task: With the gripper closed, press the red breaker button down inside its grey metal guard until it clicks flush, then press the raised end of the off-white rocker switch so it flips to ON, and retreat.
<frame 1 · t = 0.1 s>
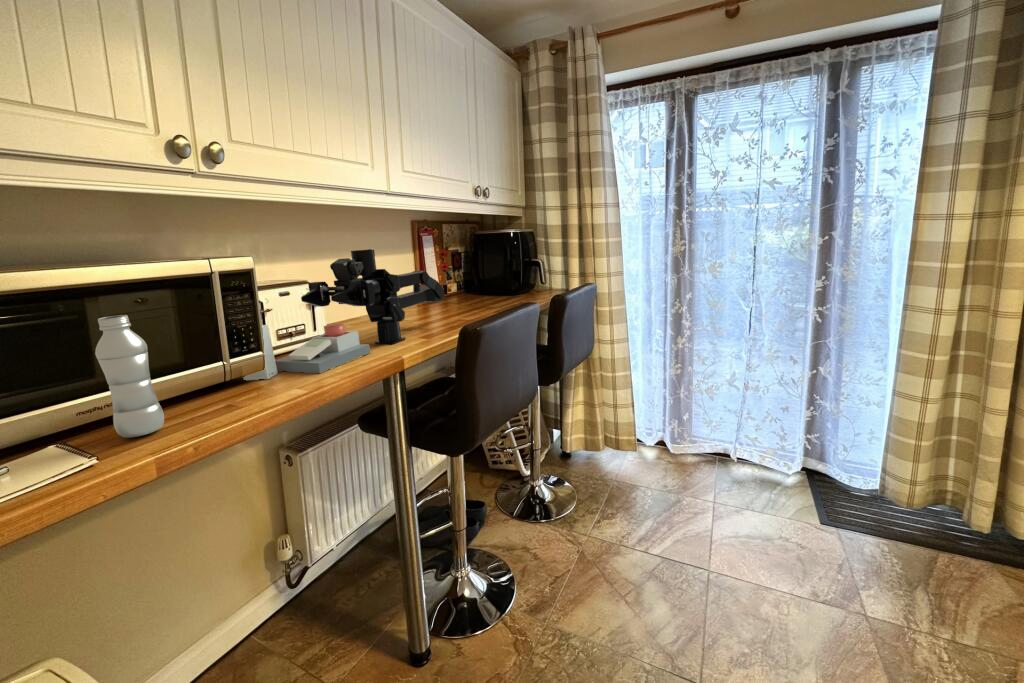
hand: (316, 298, 111), 17 cm above the worktop, tool horizontal, fingers open, 9 cm apart
grey switch base: (325, 361, 120), on the worktop
rocker switch: (310, 349, 115), point 4 cm above the worktop, hinge at 15.0°
grey tapered stand: (261, 378, 109), on the worktop
breaker button: (335, 332, 123), point 7 cm above the worktop, slide at 0.0 cm
plastic bottle: (143, 435, 80), on the worktop
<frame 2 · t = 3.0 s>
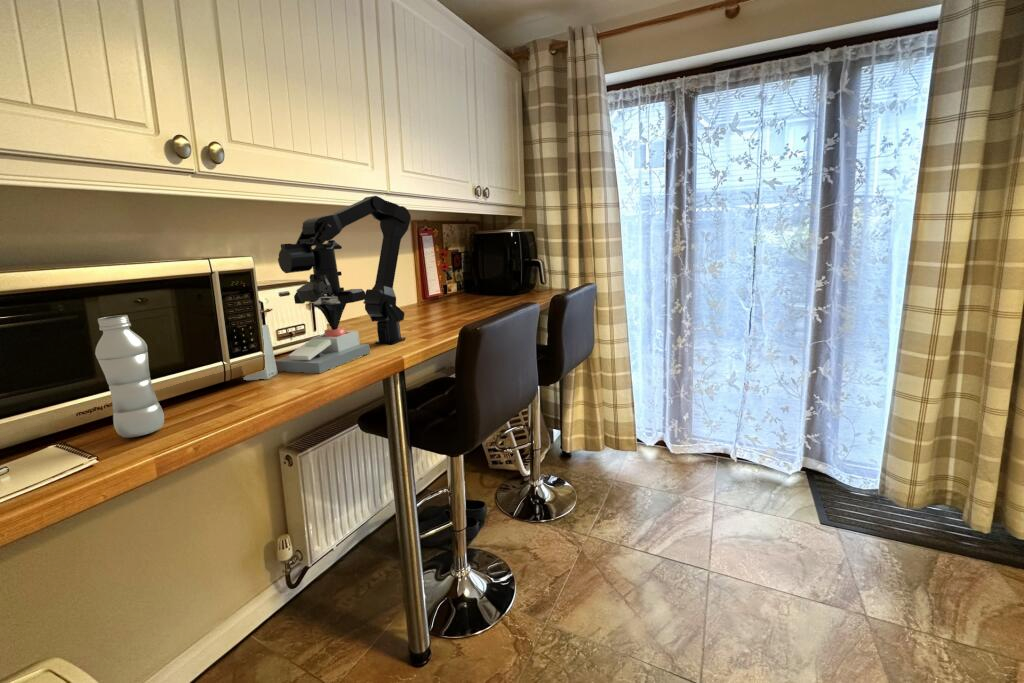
hand: (334, 329, 123), 7 cm above the worktop, tool pointing down, fingers closed, pressing on breaker button
breaker button: (335, 336, 123), point 6 cm above the worktop, slide at -1.1 cm, touching gripper
everything else where it was.
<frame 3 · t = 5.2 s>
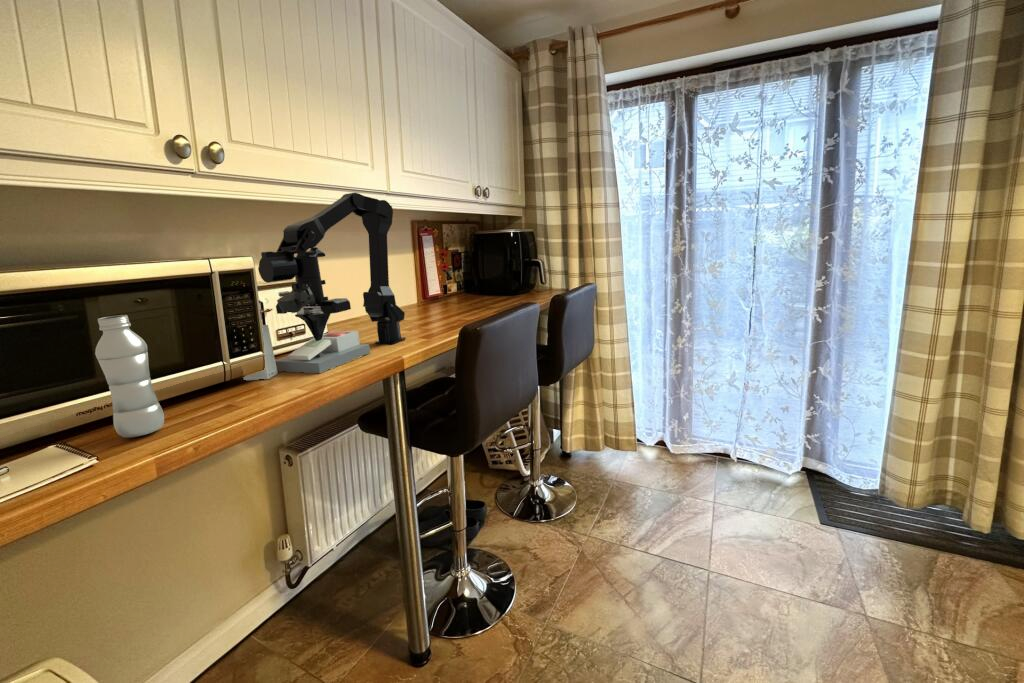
hand: (318, 340, 118), 6 cm above the worktop, tool pointing down, fingers closed, pressing on rocker switch
rocker switch: (310, 349, 115), point 4 cm above the worktop, hinge at 14.9°, touching gripper
breaker button: (336, 340, 123), point 4 cm above the worktop, slide at -2.2 cm
everything else where it was.
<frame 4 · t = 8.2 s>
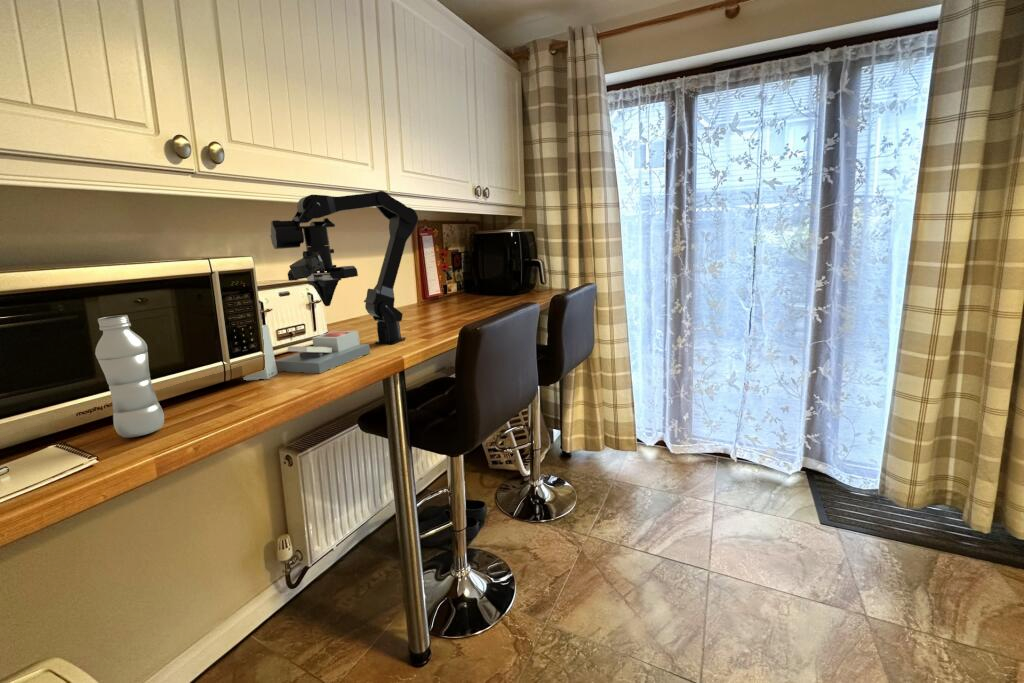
hand: (327, 306, 125), 13 cm above the worktop, tool pointing down, fingers closed
rocker switch: (310, 349, 115), point 4 cm above the worktop, hinge at -15.9°
everything else where it was.
at the end: breaker button slide at -2.2 cm; rocker switch at -16° (first picture: +15°) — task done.
